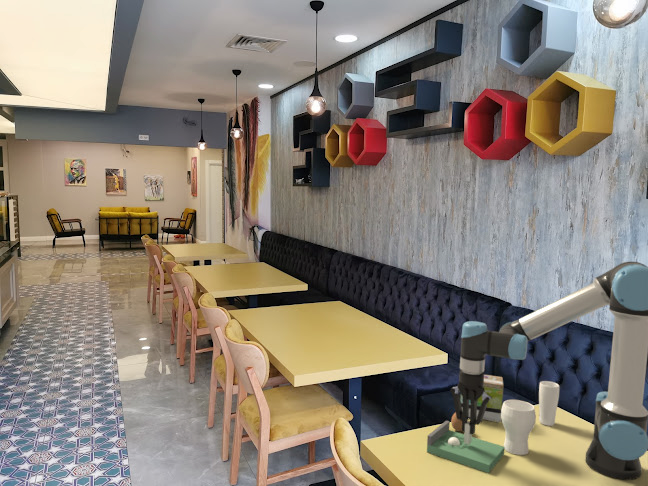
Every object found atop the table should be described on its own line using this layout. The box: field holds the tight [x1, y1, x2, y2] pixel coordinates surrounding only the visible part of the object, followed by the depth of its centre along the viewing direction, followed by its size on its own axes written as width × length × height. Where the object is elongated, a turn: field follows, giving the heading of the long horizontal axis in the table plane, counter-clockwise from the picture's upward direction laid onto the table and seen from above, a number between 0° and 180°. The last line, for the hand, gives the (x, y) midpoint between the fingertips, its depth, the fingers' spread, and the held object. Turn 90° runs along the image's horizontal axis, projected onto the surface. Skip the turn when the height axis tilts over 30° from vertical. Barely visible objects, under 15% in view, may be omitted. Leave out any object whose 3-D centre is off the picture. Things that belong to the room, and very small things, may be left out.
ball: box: [448, 437, 460, 446], centre depth 166 cm, size 4×4×4 cm
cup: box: [501, 399, 537, 456], centre depth 167 cm, size 11×11×15 cm
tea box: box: [460, 374, 504, 423], centre depth 195 cm, size 15×10×15 cm, turn 73°
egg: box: [450, 412, 462, 433], centre depth 180 cm, size 5×5×7 cm
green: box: [426, 420, 505, 474], centre depth 164 cm, size 20×15×6 cm
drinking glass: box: [538, 380, 560, 427], centre depth 189 cm, size 7×7×15 cm
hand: (467, 442), depth 164 cm, fingers closed
